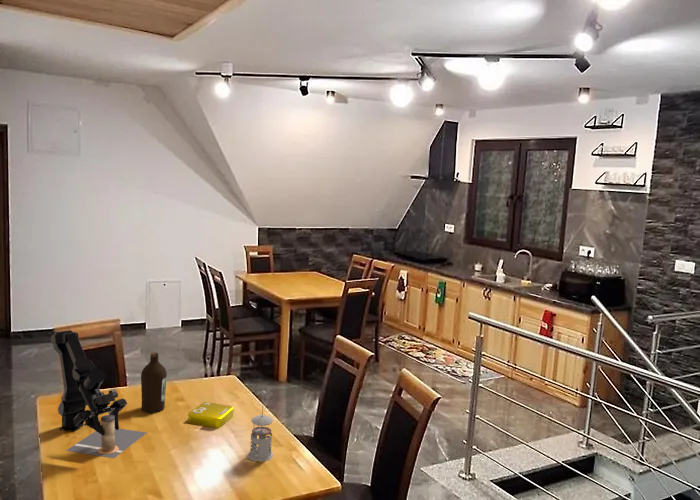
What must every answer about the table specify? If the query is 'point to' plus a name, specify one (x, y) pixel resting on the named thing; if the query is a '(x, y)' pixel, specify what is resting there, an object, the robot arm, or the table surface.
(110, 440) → the beige cylindrical canister
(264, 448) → the french press
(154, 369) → the olive oil
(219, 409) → the element tile
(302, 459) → the table surface
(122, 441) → the subfloor panel
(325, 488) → the table surface
